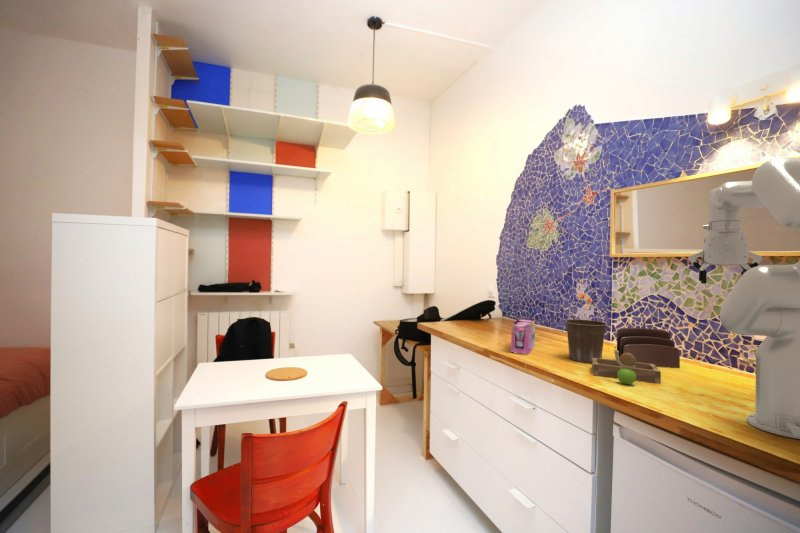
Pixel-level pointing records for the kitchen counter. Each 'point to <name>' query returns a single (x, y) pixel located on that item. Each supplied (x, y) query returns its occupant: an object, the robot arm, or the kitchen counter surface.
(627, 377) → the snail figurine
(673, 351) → the letter holder
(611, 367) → the brown wooden flat frame
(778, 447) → the kitchen counter surface
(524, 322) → the gum box
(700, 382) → the kitchen counter surface
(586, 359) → the plant pot
